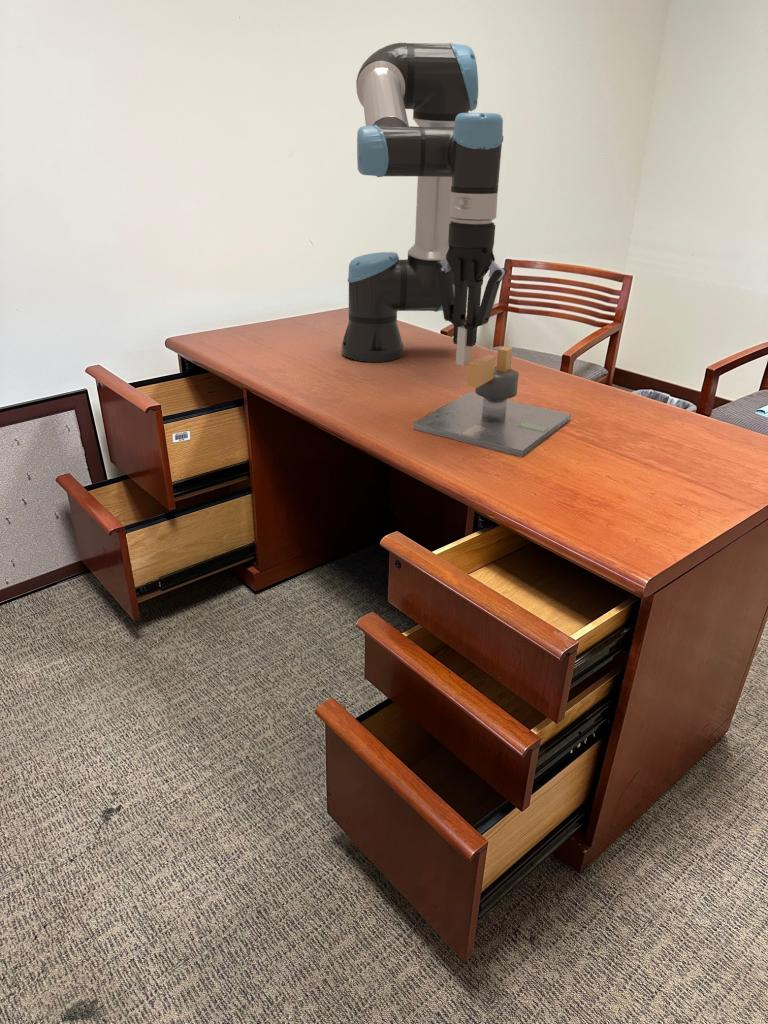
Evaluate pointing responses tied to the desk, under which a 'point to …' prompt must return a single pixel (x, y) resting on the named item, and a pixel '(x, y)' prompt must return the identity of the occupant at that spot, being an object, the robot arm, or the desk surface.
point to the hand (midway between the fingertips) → (463, 363)
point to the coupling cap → (494, 375)
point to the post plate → (493, 423)
